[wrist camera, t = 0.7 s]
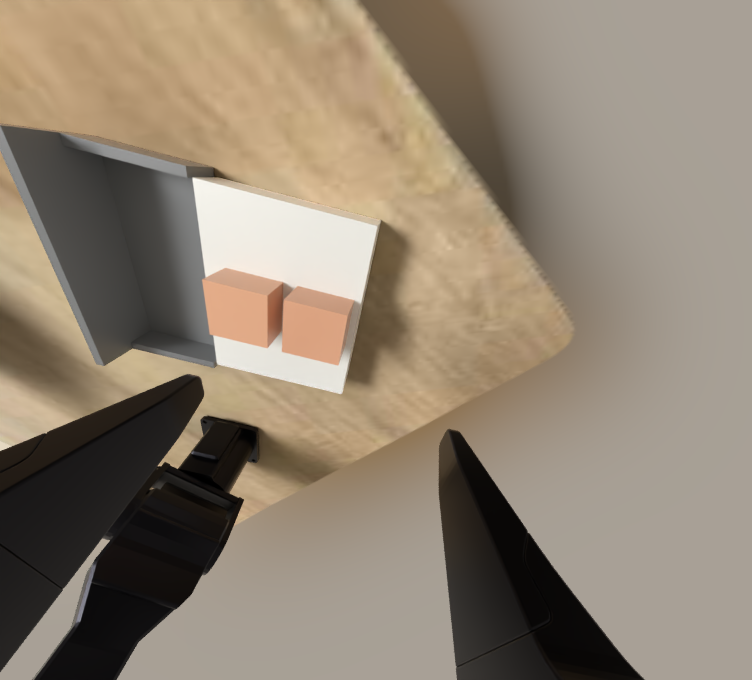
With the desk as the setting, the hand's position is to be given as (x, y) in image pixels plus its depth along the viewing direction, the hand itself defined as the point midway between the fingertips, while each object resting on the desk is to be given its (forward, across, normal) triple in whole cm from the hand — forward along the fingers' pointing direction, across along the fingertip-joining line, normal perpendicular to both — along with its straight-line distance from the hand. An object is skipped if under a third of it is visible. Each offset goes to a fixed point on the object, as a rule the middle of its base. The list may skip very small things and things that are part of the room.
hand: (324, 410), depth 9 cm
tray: (+13, +15, +2) cm, 20 cm away
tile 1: (+10, +3, +2) cm, 11 cm away
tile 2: (+10, +8, +2) cm, 13 cm away
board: (+13, +6, +2) cm, 14 cm away
